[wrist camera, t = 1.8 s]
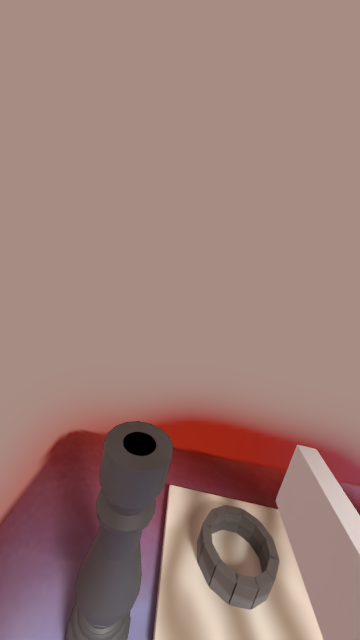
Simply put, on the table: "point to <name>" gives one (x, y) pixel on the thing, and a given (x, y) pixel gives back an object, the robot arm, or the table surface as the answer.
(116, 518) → the candle holder
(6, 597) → the table surface
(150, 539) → the table surface
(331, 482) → the robot arm
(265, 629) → the socket board
